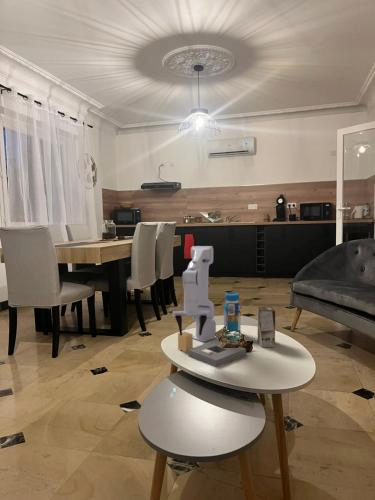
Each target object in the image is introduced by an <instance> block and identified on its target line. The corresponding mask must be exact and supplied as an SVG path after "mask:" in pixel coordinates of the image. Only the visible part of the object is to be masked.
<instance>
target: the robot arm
mask: <svg viewBox="0 0 375 500" xmlns="http://www.w3.org/2000/svg"><path fill="white" fill-rule="evenodd" d="M190 257H191V261H189V263H188V265H187V269H185V271H183V272H182V276H181V277H182V289H183V310H173V311H172V317H175V320H176V323H177V325H178V331H179V333H180V335H182V332H183V331H182V330H183V328H182V326H183V318H182V317H192V318H193V320H194V322H195V336H193V340H197V341H200V342H202V343H204V342H207V341H212V340H214V339H216V338H218V336H217V337H215V335H214V334H215V333H216V334H217V326H216V325H217V324H216V321H215V304H214V302H213V301H211V300H210V299H209V267H210V265H211V264H213V262H214V247H213V245H210V246H209V245H205V246H204V245H202V246H201V245H196V246H195V245H193V246H192V247H190Z"/></svg>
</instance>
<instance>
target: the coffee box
mask: <svg viewBox="0 0 375 500" xmlns="http://www.w3.org/2000/svg"><path fill="white" fill-rule="evenodd" d="M257 342H258V344H259V346H260V348H275V347H276V309H274V308H273V307H272V306H257Z"/></svg>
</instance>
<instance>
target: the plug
mask: <svg viewBox="0 0 375 500" xmlns="http://www.w3.org/2000/svg"><path fill="white" fill-rule="evenodd" d="M193 335H194V334H193V333H191V332H189V331H188V332H187V331H182V335H180V332H179V333H177V346H178V348H177V349H178V350H179V349H180V350H179V351H181V350H182V352H184V351H185V352H184V353H188V349H191V348H194V347H193V346H194V344H193V343H194V339H193V337H194V336H193Z"/></svg>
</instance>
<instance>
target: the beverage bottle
mask: <svg viewBox="0 0 375 500" xmlns="http://www.w3.org/2000/svg"><path fill="white" fill-rule="evenodd" d="M224 297H225V298H224V299H225V301H226V302H225V304H224V305H223V328H224V327H225V326H226V327H227V330H229V331H236V332H239V333H240V334H241V331H242V330H241V325H242V322H241V321H242V319H241V315H242V311H241V308H242V307H241V304H240V302H239V301H240V294H239V293H238V292H226V293H225V295H224Z"/></svg>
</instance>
